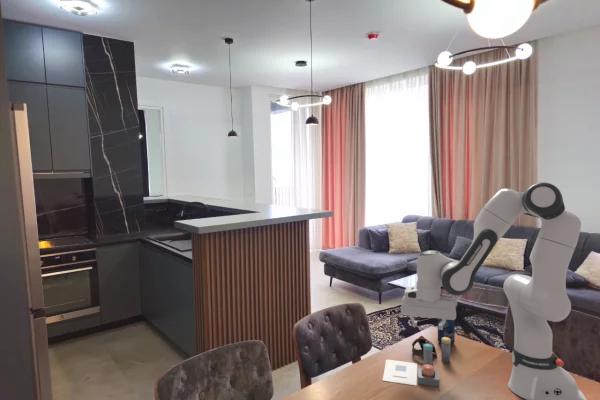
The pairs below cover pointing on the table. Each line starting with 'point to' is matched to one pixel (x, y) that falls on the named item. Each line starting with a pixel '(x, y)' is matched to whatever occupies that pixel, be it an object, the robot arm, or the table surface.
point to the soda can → (447, 331)
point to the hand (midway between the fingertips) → (427, 327)
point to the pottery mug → (422, 341)
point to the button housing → (428, 378)
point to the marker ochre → (446, 349)
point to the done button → (428, 370)
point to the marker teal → (428, 353)
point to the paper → (400, 372)
